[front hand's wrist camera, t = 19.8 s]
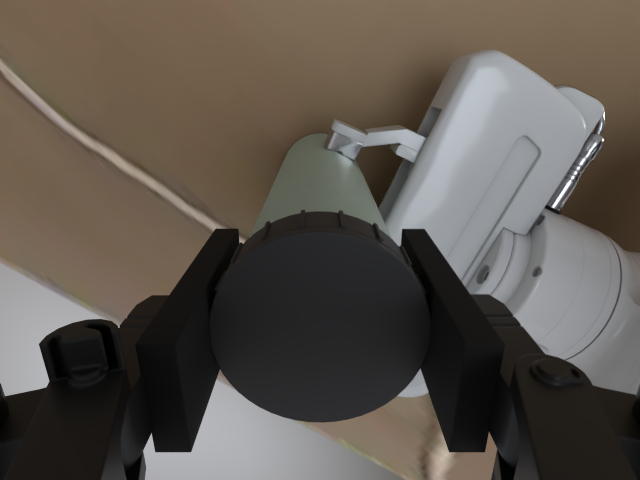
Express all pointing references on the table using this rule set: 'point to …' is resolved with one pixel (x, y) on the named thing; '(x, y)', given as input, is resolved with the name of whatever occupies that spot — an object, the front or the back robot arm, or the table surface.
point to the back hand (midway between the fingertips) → (305, 187)
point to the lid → (320, 318)
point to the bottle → (319, 185)
